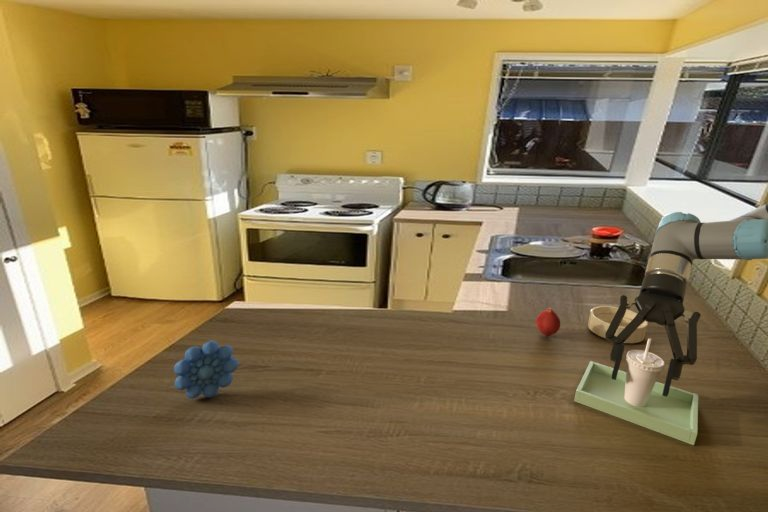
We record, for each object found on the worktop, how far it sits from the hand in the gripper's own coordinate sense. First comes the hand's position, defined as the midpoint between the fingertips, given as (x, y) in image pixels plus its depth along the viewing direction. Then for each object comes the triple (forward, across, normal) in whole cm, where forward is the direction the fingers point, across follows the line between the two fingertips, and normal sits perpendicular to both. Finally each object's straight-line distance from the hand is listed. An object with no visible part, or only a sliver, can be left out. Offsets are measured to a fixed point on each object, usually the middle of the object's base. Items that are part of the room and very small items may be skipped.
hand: (638, 385), depth 79 cm
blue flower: (+37, +68, +28) cm, 82 cm away
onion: (-10, +22, -19) cm, 31 cm away
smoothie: (+2, 0, -6) cm, 7 cm away
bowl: (-20, +8, -28) cm, 36 cm away
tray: (+2, 0, -7) cm, 7 cm away
